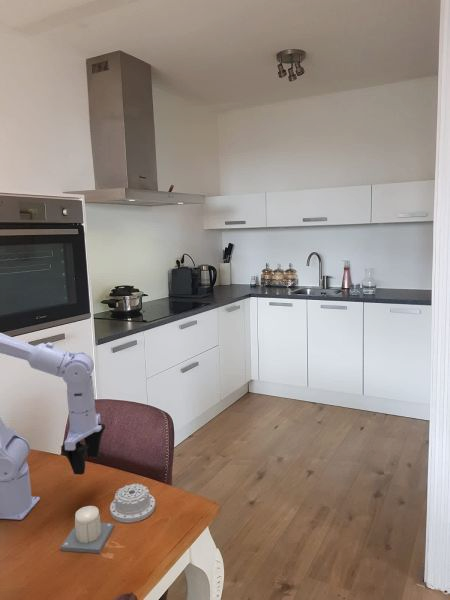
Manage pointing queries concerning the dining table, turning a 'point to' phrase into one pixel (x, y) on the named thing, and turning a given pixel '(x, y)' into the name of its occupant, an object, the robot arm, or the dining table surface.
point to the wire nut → (87, 524)
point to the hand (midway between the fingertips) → (86, 464)
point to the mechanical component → (132, 504)
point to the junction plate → (90, 547)
